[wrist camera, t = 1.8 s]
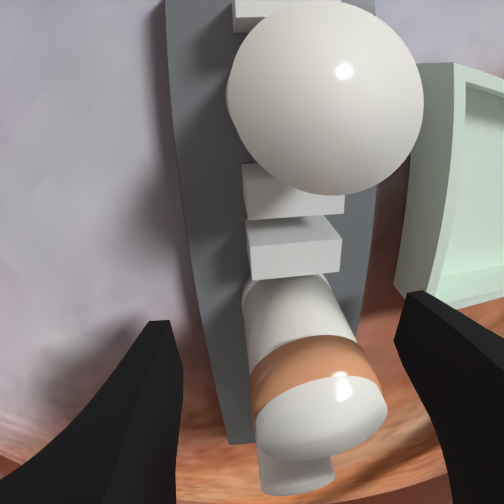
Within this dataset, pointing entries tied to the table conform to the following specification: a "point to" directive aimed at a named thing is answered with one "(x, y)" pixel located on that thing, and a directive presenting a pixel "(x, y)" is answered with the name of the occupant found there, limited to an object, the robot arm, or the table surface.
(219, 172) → the fuse board
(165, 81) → the table surface
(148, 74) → the table surface
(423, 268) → the tray
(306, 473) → the cylinder
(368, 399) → the cylinder
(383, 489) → the table surface
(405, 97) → the white glossy rounded part
